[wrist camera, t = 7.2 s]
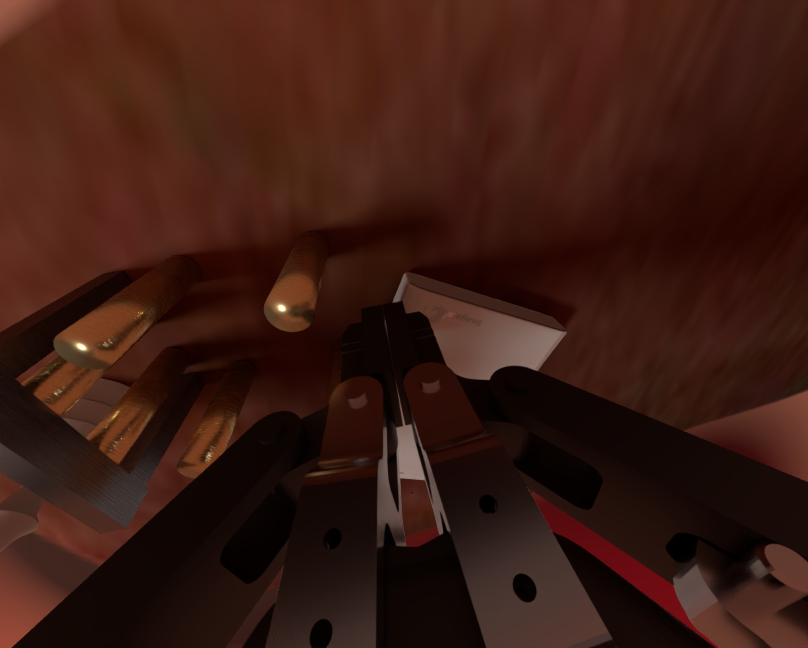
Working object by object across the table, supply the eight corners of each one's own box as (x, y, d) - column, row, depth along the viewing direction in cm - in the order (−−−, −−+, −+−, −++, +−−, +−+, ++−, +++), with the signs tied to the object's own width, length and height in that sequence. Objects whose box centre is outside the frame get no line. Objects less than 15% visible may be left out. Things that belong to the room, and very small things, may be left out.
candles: (323, 228, 11) (298, 311, 6) (360, 356, 15) (363, 477, 10) (92, 270, 11) (-140, 395, 6) (186, 391, 15) (94, 535, 9)
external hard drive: (409, 286, 11) (329, 473, 17) (572, 334, 14) (454, 483, 20) (403, 269, 13) (331, 447, 19) (553, 316, 15) (447, 460, 21)
